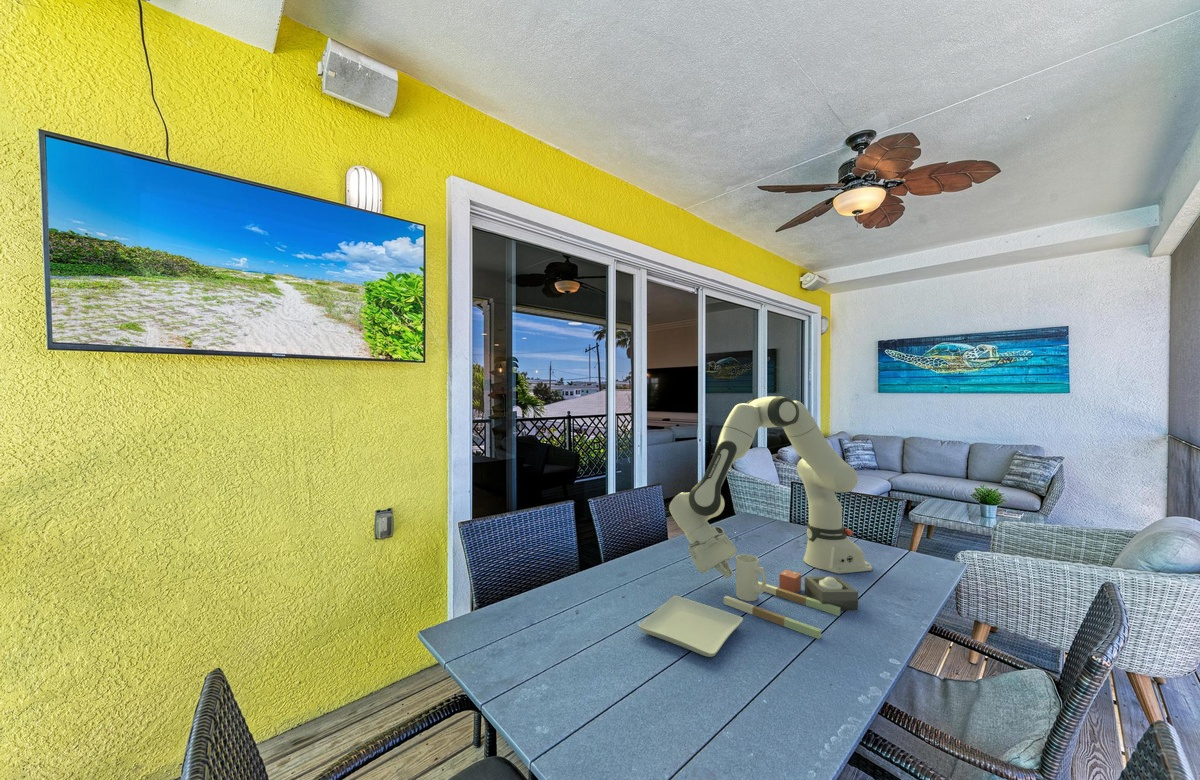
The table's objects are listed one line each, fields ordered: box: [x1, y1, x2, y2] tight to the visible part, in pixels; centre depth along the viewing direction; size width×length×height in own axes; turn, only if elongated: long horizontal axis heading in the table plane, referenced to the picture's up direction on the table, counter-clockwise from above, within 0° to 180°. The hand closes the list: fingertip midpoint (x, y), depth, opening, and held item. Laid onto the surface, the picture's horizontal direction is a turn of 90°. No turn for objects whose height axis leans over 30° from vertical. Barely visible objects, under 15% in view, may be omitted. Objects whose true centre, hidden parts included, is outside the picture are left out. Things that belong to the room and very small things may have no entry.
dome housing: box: [804, 576, 859, 612], centre depth 136 cm, size 11×11×6 cm
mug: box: [735, 553, 767, 602], centre depth 138 cm, size 10×7×12 cm, turn 35°
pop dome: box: [819, 576, 842, 589], centre depth 136 cm, size 6×6×4 cm
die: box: [778, 569, 802, 594], centre depth 145 cm, size 5×5×5 cm
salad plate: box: [638, 595, 744, 658], centre depth 119 cm, size 21×21×3 cm
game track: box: [723, 581, 841, 640], centre depth 132 cm, size 27×18×2 cm, turn 46°
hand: (730, 576), depth 143 cm, fingers closed
